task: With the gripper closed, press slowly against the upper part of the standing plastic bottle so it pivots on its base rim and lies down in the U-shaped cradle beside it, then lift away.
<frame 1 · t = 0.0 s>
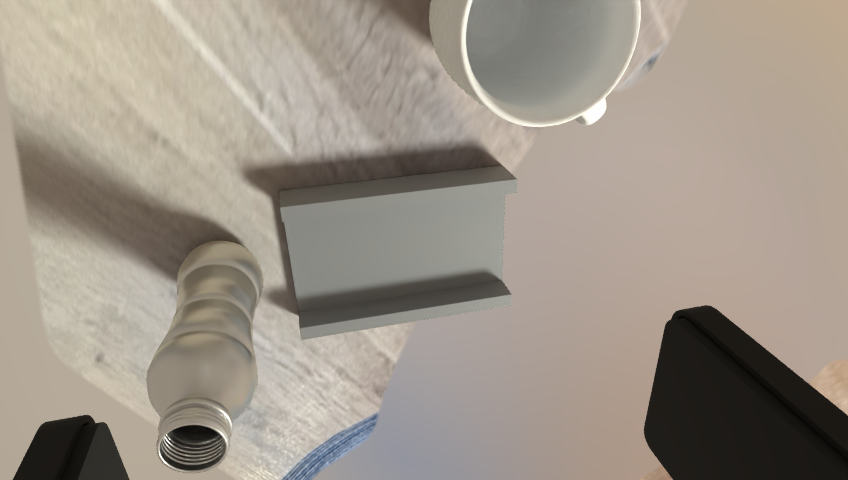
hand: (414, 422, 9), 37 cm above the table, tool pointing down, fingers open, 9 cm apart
mug: (487, 21, 43), on the table
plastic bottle: (224, 265, 47), on the table
cradle: (398, 242, 50), on the table
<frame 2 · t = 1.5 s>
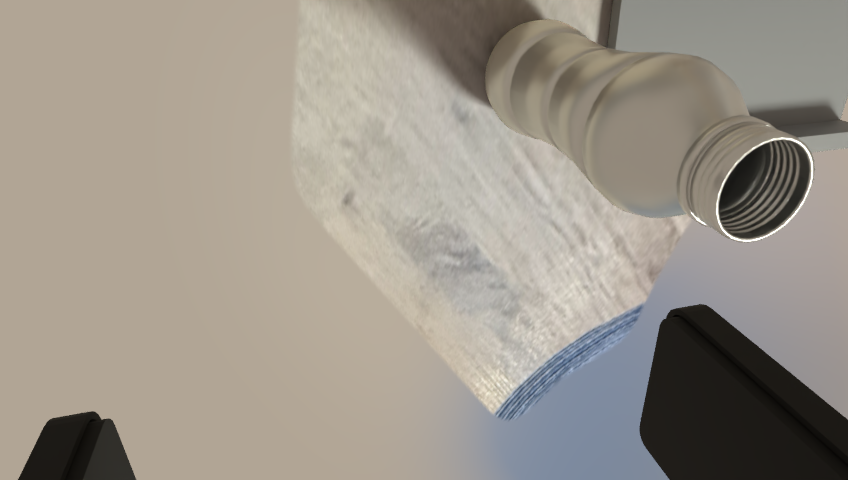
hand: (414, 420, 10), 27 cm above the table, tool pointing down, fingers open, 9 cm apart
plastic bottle: (523, 70, 35), on the table
cradle: (733, 55, 38), on the table
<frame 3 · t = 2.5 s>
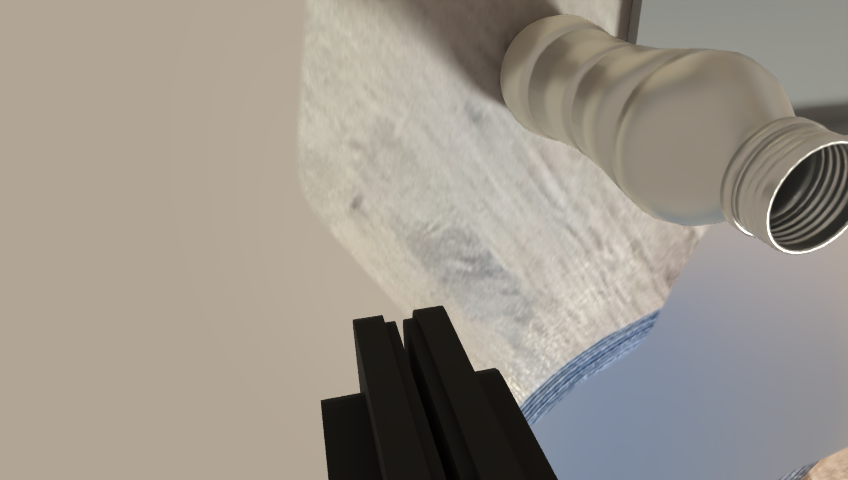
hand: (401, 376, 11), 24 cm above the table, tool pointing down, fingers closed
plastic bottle: (539, 68, 34), on the table
cradle: (757, 52, 36), on the table
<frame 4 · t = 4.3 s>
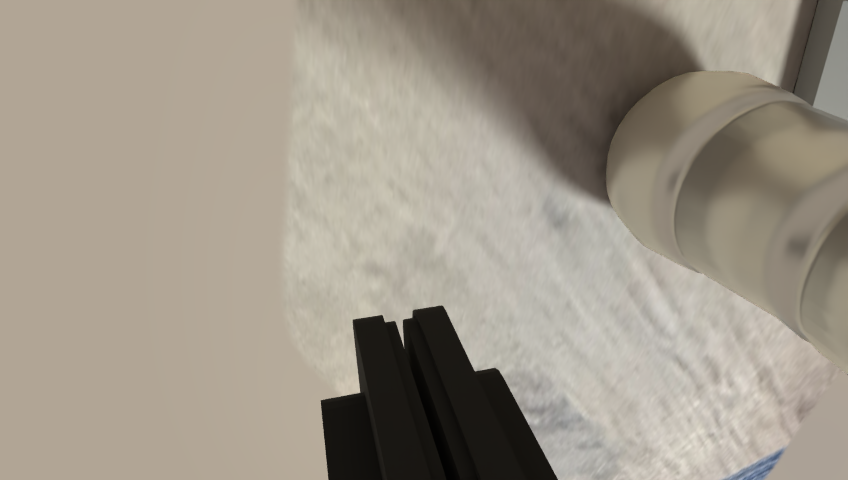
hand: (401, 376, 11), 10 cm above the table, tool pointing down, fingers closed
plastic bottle: (657, 146, 22), on the table
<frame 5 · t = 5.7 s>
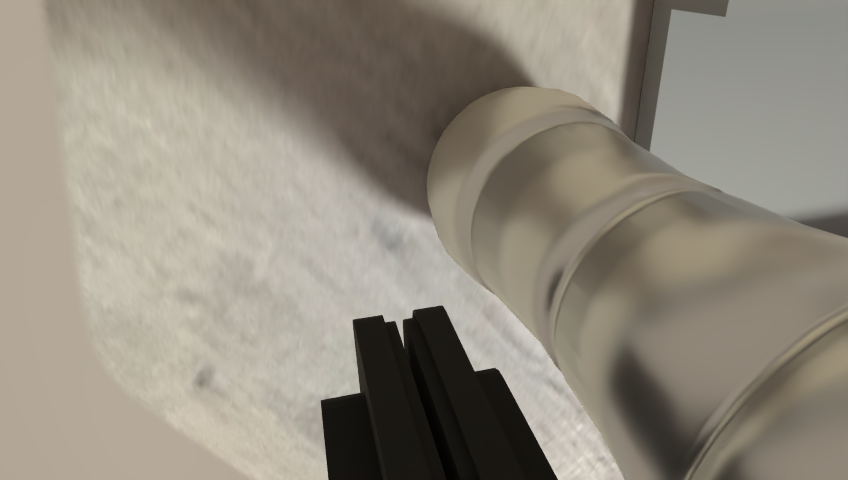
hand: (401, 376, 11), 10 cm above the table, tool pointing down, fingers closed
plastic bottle: (495, 164, 20), on the table, touching gripper
cradle: (842, 123, 23), on the table
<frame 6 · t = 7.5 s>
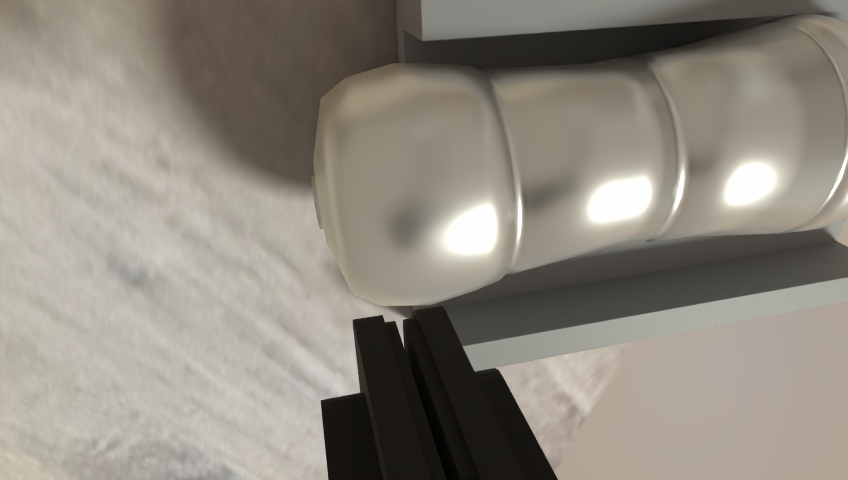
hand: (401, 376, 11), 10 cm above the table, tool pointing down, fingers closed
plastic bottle: (307, 201, 15), point 4 cm above the table, touching cradle
cradle: (647, 148, 21), on the table
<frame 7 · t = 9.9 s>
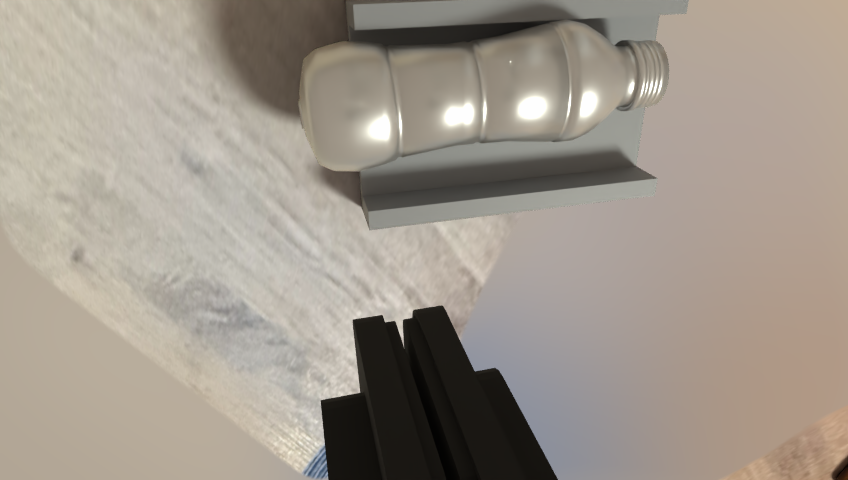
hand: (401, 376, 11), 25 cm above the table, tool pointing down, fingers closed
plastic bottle: (296, 113, 29), point 4 cm above the table, touching cradle
cradle: (503, 100, 35), on the table
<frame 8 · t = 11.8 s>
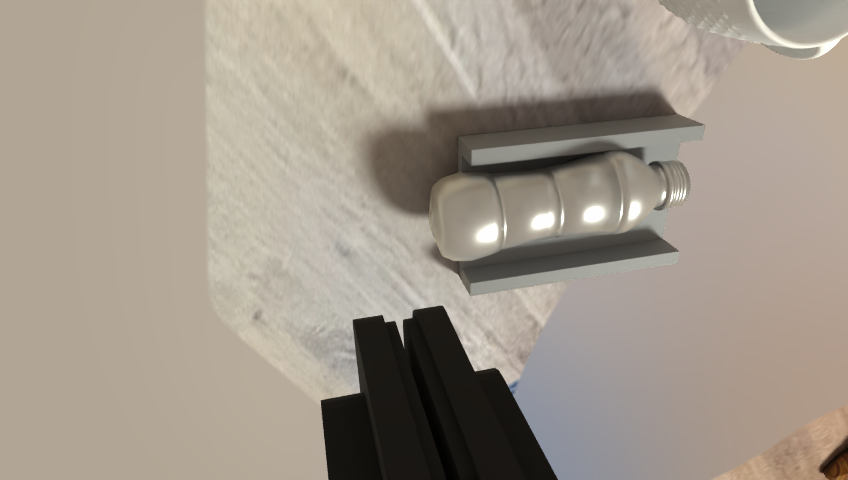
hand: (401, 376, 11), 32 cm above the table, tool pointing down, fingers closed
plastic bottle: (428, 222, 41), point 4 cm above the table, touching cradle
cradle: (565, 196, 48), on the table
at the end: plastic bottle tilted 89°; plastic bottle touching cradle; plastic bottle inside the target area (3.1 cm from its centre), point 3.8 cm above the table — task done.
